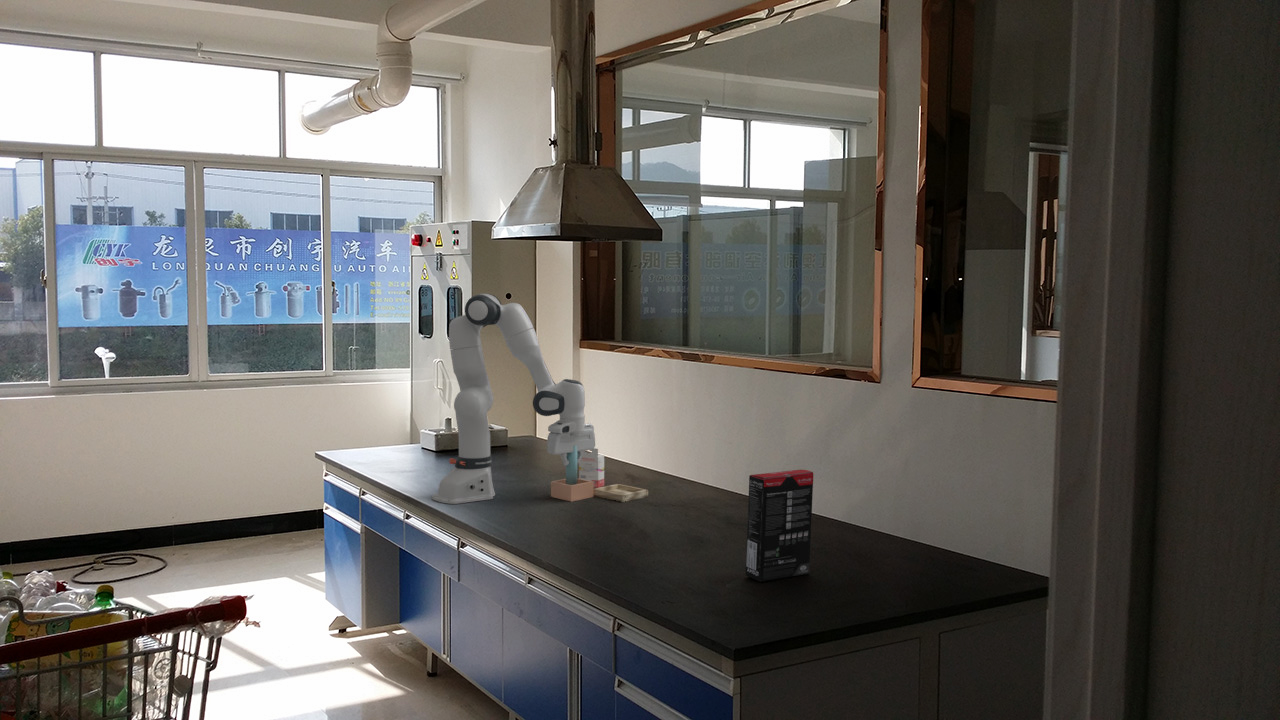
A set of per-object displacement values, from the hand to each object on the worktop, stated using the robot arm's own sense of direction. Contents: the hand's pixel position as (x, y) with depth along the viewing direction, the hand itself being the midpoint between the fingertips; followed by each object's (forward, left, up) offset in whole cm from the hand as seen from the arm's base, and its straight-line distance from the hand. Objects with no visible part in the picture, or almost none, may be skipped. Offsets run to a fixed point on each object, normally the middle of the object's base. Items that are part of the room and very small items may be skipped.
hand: (571, 464), depth 350 cm
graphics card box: (-26, -108, -12) cm, 112 cm away
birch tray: (+13, -11, -12) cm, 21 cm away
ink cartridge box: (+18, +9, -12) cm, 23 cm away
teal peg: (0, 0, -7) cm, 7 cm away
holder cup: (0, 0, -12) cm, 12 cm away
